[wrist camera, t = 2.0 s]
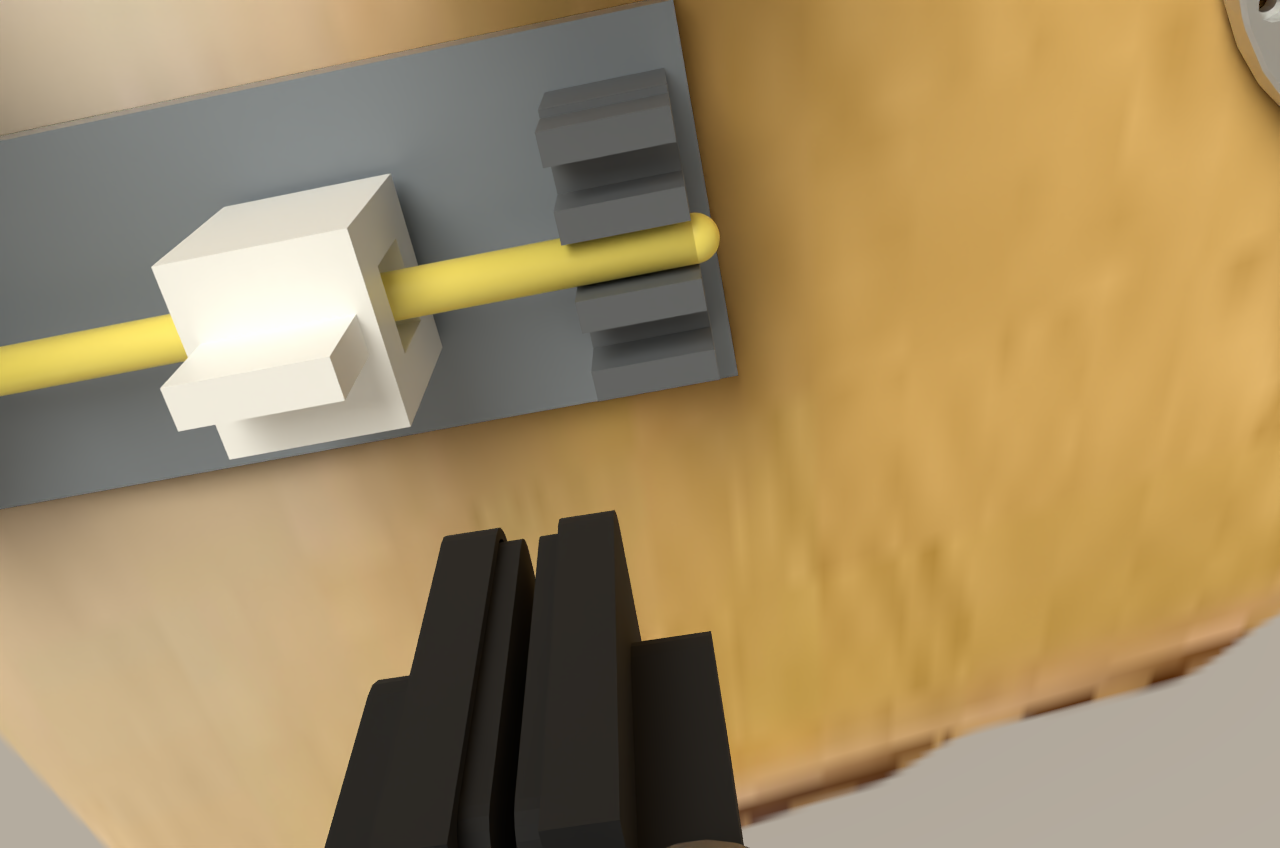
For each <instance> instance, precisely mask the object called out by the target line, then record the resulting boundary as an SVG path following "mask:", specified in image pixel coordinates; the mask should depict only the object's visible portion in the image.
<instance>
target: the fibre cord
mask: <svg viewBox="0 0 1280 848" xmlns="http://www.w3.org/2000/svg"><path fill="white" fill-rule="evenodd" d="M690 217H691V221H686V222H681V223H676V224H671V225H666V226H660V227H655V228H650V229H645V230H640V231H635V232H629V233H624V234H619V235H614V236H609V237H604V238H598V239H593V240H588V241H583V242H578V243H573V244H567V245H562V246H561V242H560V238H558V239H553V240H548V241H542V242H537V243H532V244H527V245H522V246H517V247H511V248H506V249H501V250H496V251H491V252H486V253H481V254H475V255H470V256H465V257H460V258H455V259H450V260H444V261H439V262H434V263H429V264H424V265H419V266H414V267H408V268H403V269H398V270H393V271H388V272H383V273H380V276H381V279H382V282H383V285H384V288H385V292H386V295H387V298H388V301H389V304H390V308H391V311H392V314H393V317H394V320H395V321H400V320H405V319H410V318H415V317H421V316H426V315H431V314H436V313H442V312H447V311H452V310H457V309H463V308H468V307H473V306H479V305H484V304H489V303H494V302H500V301H505V300H510V299H515V298H521V297H526V296H531V295H536V294H542V293H547V292H552V291H557V290H563V289H568V288H573V287H578V286H584V285H589V284H594V283H599V282H605V281H610V280H615V279H621V278H626V277H631V276H636V275H642V274H647V273H652V272H657V271H663V270H668V269H673V268H678V267H684V266H689V265H694V264H699V263H703V262H705V261H707V260H709V259H710V258H711V257H712V256H713V255H714V254H715V253H716V251H717V249H718V246H719V242H720V233H719V230H718V227H717V225H716V224H715V222H714V221H713V220H712V219H711V218H710V217H708V216H706V215H704V214H701V213H690ZM187 358H188V357H187V354H186V352H185V349H184V347H183V344H182V342H181V339H180V337H179V334H178V332H177V329H176V327H175V325H174V322H173V320H172V317H171V315H170V314H166V315H161V316H156V317H151V318H146V319H140V320H135V321H130V322H125V323H120V324H115V325H109V326H104V327H99V328H94V329H89V330H84V331H79V332H73V333H68V334H63V335H58V336H53V337H48V338H42V339H37V340H32V341H27V342H22V343H17V344H12V345H6V346H1V347H0V396H5V395H10V394H16V393H21V392H26V391H32V390H37V389H42V388H47V387H53V386H58V385H63V384H68V383H74V382H79V381H84V380H89V379H95V378H100V377H105V376H110V375H116V374H121V373H126V372H131V371H137V370H142V369H147V368H152V367H158V366H163V365H168V364H174V363H179V362H184V361H185V360H186V359H187Z"/></svg>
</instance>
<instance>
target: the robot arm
mask: <svg viewBox="0 0 1280 848" xmlns="http://www.w3.org/2000/svg"><path fill="white" fill-rule="evenodd" d="M1259 1H1260V0H1224V4H1225V8H1226V11H1227V14H1228V18H1229V21H1230V24H1231V28H1232V31H1233V34H1234V38H1235V41H1236V44H1237V47H1238V49H1239V51H1240V52H1241V54H1242V56H1243V58H1244V59H1245V61H1246V63H1247V65H1248V67H1249V68H1250V70H1251V72H1252V74H1253V75H1254V77H1255V79H1256V81H1257V82H1258V84H1259V85H1260V86H1261V87H1262V88H1263V90H1264V91H1265V92H1266V93H1267V94H1268V95H1269V96H1270V97H1271V98H1272V99H1273V100H1274V101H1275V102H1276V103H1277V104H1278V105H1279V106H1280V0H1267V1H1266V3H1265V5H1264V6H1263V7H1261V8H1260V9H1259ZM325 848H748V847H745V846H744V844H743V837H742V830H741V823H740V816H739V810H738V803H737V796H736V789H735V783H734V776H733V769H732V763H731V756H730V749H729V743H728V736H727V730H726V723H725V717H724V711H723V704H722V698H721V691H720V685H719V679H718V672H717V666H716V660H715V654H714V647H713V641H712V635H711V631H709V632H702V633H695V634H688V635H682V636H675V637H668V638H661V639H654V640H648V641H641V636H640V631H639V626H638V621H637V615H636V610H635V605H634V600H633V595H632V589H631V584H630V579H629V574H628V569H627V563H626V558H625V553H624V548H623V543H622V537H621V532H620V527H619V523H618V518H617V515H616V512H615V510H613V511H607V512H600V513H594V514H587V515H581V516H574V517H567V518H561V519H559V524H558V534H553V535H547V536H541V537H540V539H539V547H538V557H537V568H536V579H535V575H534V571H533V566H532V562H531V558H530V554H529V550H528V546H527V544H526V541H525V540H524V539H520V540H514V541H507V539H506V536H505V534H504V532H503V530H502V529H501V528H495V529H489V530H482V531H475V532H469V533H462V534H456V535H449V536H445V537H444V538H443V541H442V543H441V548H440V552H439V556H438V560H437V564H436V568H435V573H434V577H433V581H432V585H431V589H430V593H429V597H428V602H427V606H426V610H425V614H424V618H423V622H422V627H421V631H420V635H419V639H418V643H417V647H416V652H415V656H414V660H413V664H412V668H411V672H410V676H403V677H396V678H390V679H383V680H378V681H377V682H376V683H374V684H373V685H372V688H371V690H370V692H369V695H368V698H367V701H366V705H365V708H364V712H363V715H362V719H361V722H360V726H359V729H358V733H357V736H356V740H355V743H354V746H353V750H352V753H351V757H350V760H349V764H348V767H347V771H346V774H345V778H344V781H343V785H342V788H341V792H340V795H339V799H338V802H337V806H336V809H335V813H334V816H333V820H332V823H331V827H330V830H329V834H328V837H327V841H326V844H325Z"/></svg>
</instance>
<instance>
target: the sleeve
mask: <svg viewBox="0 0 1280 848" xmlns="http://www.w3.org/2000/svg"><path fill="white" fill-rule="evenodd" d="M414 266H418V263H417V260H416V257H415V253H414V250H413V246H412V243H411V240H410V236H409V233H408V230H407V226H406V223H405V220H404V216H403V213H402V209H401V206H400V203H399V199H398V196H397V193H396V189H395V186H394V182H393V179H392V176H391V173H390V174H385V175H380V176H375V177H370V178H365V179H360V180H355V181H350V182H345V183H340V184H335V185H330V186H325V187H320V188H315V189H311V190H306V191H301V192H296V193H291V194H286V195H281V196H276V197H271V198H266V199H261V200H256V201H251V202H246V203H241V204H236V205H231V206H226V207H223V208H222V209H221V210H220V211H218V212H217V213H216V214H215V215H213V216H212V217H211V218H210V219H209V220H207V221H206V222H205V223H204V224H203V225H201V226H200V227H199V228H198V229H196V230H195V231H194V232H193V233H192V234H190V235H189V236H188V237H187V238H186V239H184V240H183V241H182V242H181V243H179V244H178V245H177V246H176V247H175V248H173V249H172V250H171V251H170V252H169V253H167V254H166V255H165V256H164V257H162V258H161V259H160V260H159V261H158V262H156V263H155V264H154V265H153V266H152V267H151V268H152V271H153V273H154V275H155V278H156V280H157V283H158V285H159V288H160V290H161V293H162V295H163V298H164V300H165V302H166V305H167V307H168V310H169V312H170V315H171V317H172V320H173V322H174V325H175V327H176V329H177V332H178V334H179V337H180V339H181V342H182V344H183V347H184V349H185V352H186V354H187V357H188V358H187V359H186V360H185V362H184V363H183V364H182V365H181V366H180V367H179V368H178V369H177V370H176V371H175V373H174V374H173V375H172V376H171V377H170V378H169V379H168V380H167V381H166V382H165V383H164V385H163V386H162V387H161V388H160V390H161V392H162V395H163V397H164V399H165V402H166V404H167V406H168V409H169V411H170V413H171V416H172V418H173V420H174V423H175V425H176V427H177V430H178V432H179V431H184V430H189V429H195V428H200V427H206V426H211V425H216V428H217V430H218V433H219V435H220V438H221V440H222V442H223V445H224V447H225V450H226V452H227V455H228V457H229V460H231V459H236V458H242V457H247V456H253V455H258V454H263V453H269V452H274V451H280V450H285V449H291V448H296V447H302V446H307V445H313V444H318V443H324V442H329V441H335V440H340V439H346V438H351V437H357V436H362V435H368V434H373V433H379V432H384V431H390V430H395V429H401V428H406V427H411V425H412V422H413V420H414V417H415V415H416V412H417V410H418V407H419V405H420V402H421V400H422V397H423V395H424V392H425V390H426V387H427V385H428V382H429V380H430V377H431V375H432V372H433V370H434V367H435V365H436V362H437V360H438V357H439V355H440V352H441V350H442V344H441V341H440V337H439V334H438V331H437V327H436V324H435V320H434V317H433V314H431V315H426V316H421V317H415V318H410V319H405V320H400V321H395V320H394V317H393V314H392V311H391V308H390V304H389V301H388V298H387V295H386V292H385V288H384V285H383V282H382V279H381V276H380V273H383V272H388V271H393V270H398V269H403V268H408V267H414Z"/></svg>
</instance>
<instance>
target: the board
mask: <svg viewBox="0 0 1280 848" xmlns="http://www.w3.org/2000/svg"><path fill="white" fill-rule="evenodd" d="M390 173H391V176H392V179H393V182H394V186H395V189H396V193H397V196H398V199H399V203H400V206H401V209H402V213H403V216H404V220H405V223H406V226H407V230H408V233H409V236H410V240H411V243H412V246H413V250H414V253H415V257H416V260H417V263H418V266H419V265H424V264H429V263H434V262H439V261H444V260H450V259H455V258H460V257H465V256H470V255H475V254H481V253H486V252H491V251H496V250H501V249H506V248H511V247H517V246H522V245H527V244H532V243H537V242H542V241H548V240H553V239H558V238H560V242H561V246H562V245H567V244H573V243H578V242H583V241H588V240H593V239H598V238H604V237H609V236H614V235H619V234H624V233H629V232H635V231H640V230H645V229H650V228H655V227H660V226H666V225H671V224H676V223H681V222H686V221H691V217H690V213H701V214H704V215H706V216H708V217H710V218H711V216H710V210H709V204H708V198H707V193H706V187H705V181H704V175H703V170H702V164H701V158H700V152H699V147H698V141H697V135H696V129H695V123H694V118H693V112H692V106H691V100H690V95H689V89H688V83H687V77H686V71H685V66H684V60H683V54H682V48H681V43H680V37H679V31H678V25H677V19H676V14H675V8H674V2H673V0H644V1H639V2H634V3H630V4H625V5H620V6H615V7H611V8H606V9H601V10H596V11H592V12H587V13H582V14H577V15H573V16H568V17H563V18H558V19H553V20H549V21H544V22H539V23H534V24H530V25H525V26H520V27H515V28H511V29H506V30H501V31H496V32H492V33H487V34H482V35H477V36H473V37H468V38H463V39H458V40H454V41H449V42H444V43H439V44H435V45H430V46H425V47H420V48H416V49H411V50H406V51H401V52H397V53H392V54H387V55H382V56H378V57H373V58H368V59H363V60H359V61H354V62H349V63H344V64H340V65H335V66H330V67H325V68H321V69H316V70H311V71H306V72H301V73H297V74H292V75H287V76H282V77H278V78H273V79H268V80H263V81H259V82H254V83H249V84H244V85H240V86H235V87H230V88H225V89H221V90H216V91H211V92H206V93H202V94H197V95H192V96H187V97H183V98H178V99H173V100H168V101H164V102H159V103H154V104H149V105H145V106H140V107H135V108H130V109H126V110H121V111H116V112H111V113H107V114H102V115H97V116H92V117H88V118H83V119H78V120H73V121H69V122H64V123H59V124H54V125H50V126H45V127H40V128H35V129H30V130H26V131H21V132H16V133H11V134H7V135H2V136H0V347H1V346H6V345H12V344H17V343H22V342H27V341H32V340H37V339H42V338H48V337H53V336H58V335H63V334H68V333H73V332H79V331H84V330H89V329H94V328H99V327H104V326H109V325H115V324H120V323H125V322H130V321H135V320H140V319H146V318H151V317H156V316H161V315H166V314H170V312H169V310H168V307H167V305H166V302H165V300H164V298H163V295H162V293H161V290H160V288H159V285H158V283H157V280H156V278H155V275H154V273H153V271H152V268H151V267H152V266H153V265H154V264H155V263H156V262H158V261H159V260H160V259H161V258H162V257H164V256H165V255H166V254H167V253H169V252H170V251H171V250H172V249H173V248H175V247H176V246H177V245H178V244H179V243H181V242H182V241H183V240H184V239H186V238H187V237H188V236H189V235H190V234H192V233H193V232H194V231H195V230H196V229H198V228H199V227H200V226H201V225H203V224H204V223H205V222H206V221H207V220H209V219H210V218H211V217H212V216H213V215H215V214H216V213H217V212H218V211H220V210H221V209H222V208H223V207H226V206H231V205H236V204H241V203H246V202H251V201H256V200H261V199H266V198H271V197H276V196H281V195H286V194H291V193H296V192H301V191H306V190H311V189H315V188H320V187H325V186H330V185H335V184H340V183H345V182H350V181H355V180H360V179H365V178H370V177H375V176H380V175H385V174H390ZM433 317H434V320H435V324H436V327H437V331H438V334H439V337H440V341H441V344H442V350H441V352H440V355H439V357H438V360H437V362H436V365H435V367H434V370H433V372H432V375H431V377H430V380H429V382H428V385H427V387H426V390H425V392H424V395H423V397H422V400H421V402H420V405H419V407H418V410H417V412H416V415H415V417H414V420H413V422H412V425H411V427H406V428H401V429H395V430H390V431H384V432H379V433H373V434H368V435H362V436H357V437H351V438H346V439H340V440H335V441H329V442H324V443H318V444H313V445H307V446H302V447H296V448H291V449H285V450H280V451H274V452H269V453H263V454H258V455H253V456H247V457H242V458H236V459H231V460H229V457H228V455H227V452H226V450H225V447H224V445H223V442H222V440H221V438H220V435H219V433H218V430H217V428H216V425H211V426H206V427H200V428H195V429H189V430H184V431H179V432H178V430H177V427H176V425H175V423H174V420H173V418H172V416H171V413H170V411H169V409H168V406H167V404H166V402H165V399H164V397H163V395H162V392H161V390H160V388H161V387H162V386H163V385H164V383H165V382H166V381H167V380H168V379H169V378H170V377H171V376H172V375H173V374H174V373H175V371H176V370H177V369H178V368H179V367H180V366H181V365H182V364H183V363H184V362H185V361H184V362H179V363H174V364H168V365H163V366H158V367H152V368H147V369H142V370H137V371H131V372H126V373H121V374H116V375H110V376H105V377H100V378H95V379H89V380H84V381H79V382H74V383H68V384H63V385H58V386H53V387H47V388H42V389H37V390H32V391H26V392H21V393H16V394H10V395H5V396H0V509H5V508H10V507H16V506H21V505H27V504H32V503H38V502H43V501H49V500H54V499H60V498H65V497H71V496H76V495H82V494H87V493H93V492H98V491H104V490H109V489H115V488H120V487H126V486H131V485H137V484H143V483H148V482H154V481H159V480H165V479H170V478H176V477H181V476H187V475H192V474H198V473H203V472H209V471H214V470H220V469H225V468H231V467H236V466H242V465H247V464H253V463H258V462H264V461H269V460H275V459H280V458H286V457H291V456H297V455H302V454H308V453H313V452H319V451H324V450H330V449H335V448H341V447H346V446H352V445H357V444H363V443H368V442H374V441H380V440H385V439H391V438H396V437H402V436H407V435H413V434H418V433H424V432H429V431H435V430H440V429H446V428H451V427H457V426H462V425H468V424H473V423H479V422H484V421H490V420H495V419H501V418H506V417H512V416H517V415H523V414H528V413H534V412H539V411H545V410H550V409H556V408H561V407H567V406H572V405H578V404H583V403H589V402H594V401H604V400H609V399H615V398H620V397H626V396H631V395H637V394H642V393H648V392H654V391H659V390H665V389H670V388H676V387H681V386H687V385H692V384H698V383H703V382H709V381H714V380H720V379H721V378H727V377H732V376H738V372H737V366H736V360H735V354H734V349H733V343H732V337H731V331H730V325H729V320H728V314H727V308H726V302H725V297H724V291H723V285H722V279H721V274H720V268H719V262H718V256H717V251H716V253H715V254H714V255H713V256H712V257H711V258H710V259H709V260H707V261H705V262H703V263H699V264H694V265H689V266H684V267H678V268H673V269H668V270H663V271H657V272H652V273H647V274H642V275H636V276H631V277H626V278H621V279H615V280H610V281H605V282H599V283H594V284H589V285H584V286H578V287H573V288H568V289H563V290H557V291H552V292H547V293H542V294H536V295H531V296H526V297H521V298H515V299H510V300H505V301H500V302H494V303H489V304H484V305H479V306H473V307H468V308H463V309H457V310H452V311H447V312H442V313H436V314H433Z"/></svg>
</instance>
